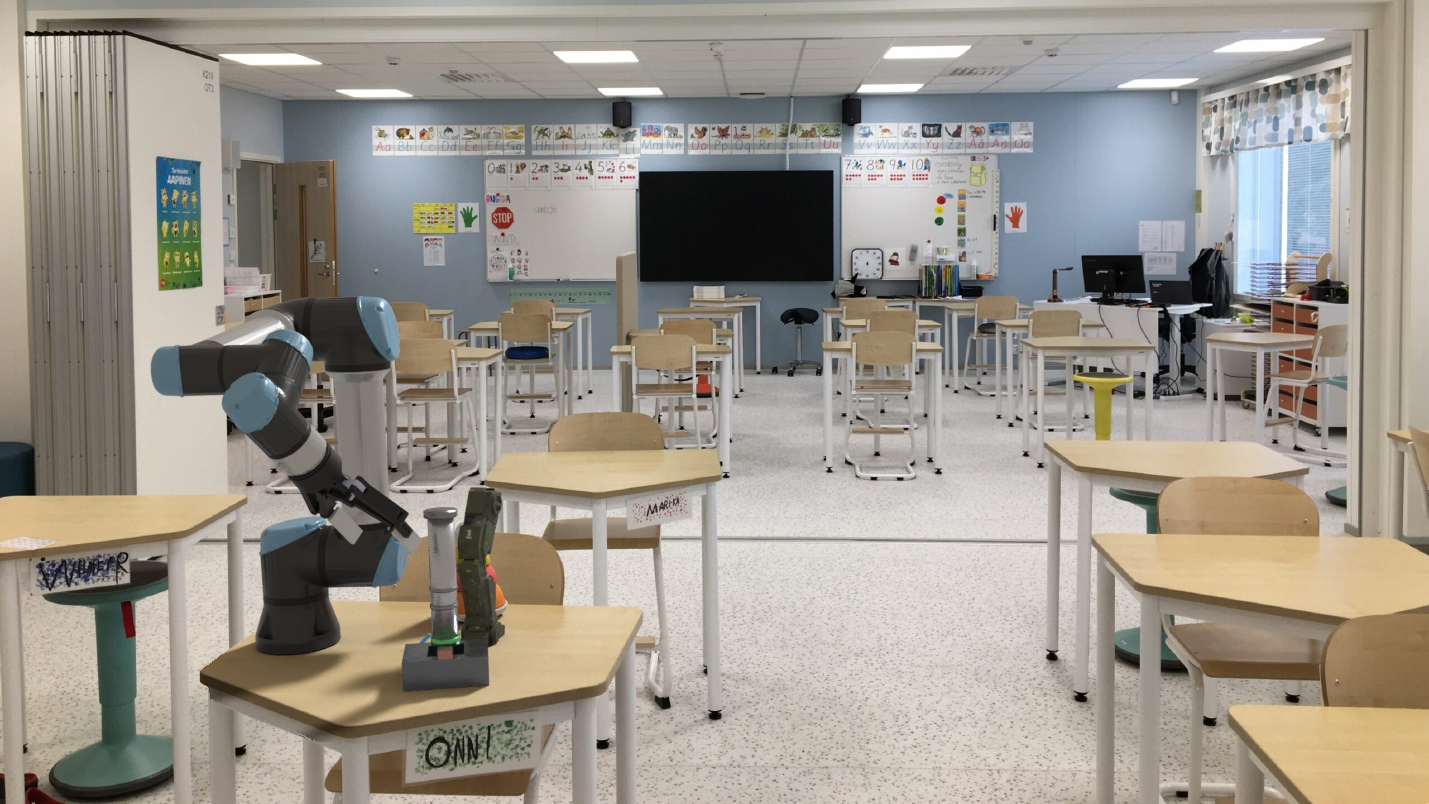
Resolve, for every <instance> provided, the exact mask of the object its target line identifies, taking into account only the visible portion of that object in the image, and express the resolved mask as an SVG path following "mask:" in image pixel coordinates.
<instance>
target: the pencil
mask: <svg viewBox="0 0 1429 804" xmlns="http://www.w3.org/2000/svg"><path fill="white" fill-rule="evenodd" d="M431 636H432V631H429V632H428V633H427V634H426V635H425V636H424V637H423V638H422V639H421V640H420V642H419V643H426V641H427V642H428V640H429V639H430V638H431Z"/></svg>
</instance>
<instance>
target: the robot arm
mask: <svg viewBox="0 0 1429 804" xmlns="http://www.w3.org/2000/svg"><path fill="white" fill-rule="evenodd" d="M399 331H400V330H399V326H398V321H397V317H396V314H395V312H394V309H393V308H392V306H391V304H390V303H389V302H388V301H387V300H386V299H385V298H382V297H375V296H363V295H360V296H334V297H333V296H332V297H330V296H329V297H328V296H327V297H300V298H293V299H289V300H285V301H282V302H279V303H274V304H272V305H270V306H267V307H265V308H261V309H259V310H257V311H256V310H255V312H253V313H251V314H250V315H249V316H247V317H246V318H245V320H244V321H243V323H240V324H239V325H237V326H233V327H232V328H229V329H226V330H224V331H222V332H220V333H217V334H215V335H213V336H211V337H208V338H206V339H203V340H201V341H199V342H196V343H192V344H190V345H189V344H188V345H179V344H175V345H170V346H169V345H168V346H167V345H166V346H165V345H164V346H160V347H158V348H156V350H155V351H154V353H153V354H152V357H151V360H150V377H151V382H152V385H153V388H154V389H155V391H156V392H157V393H159V395H162V396H166V397H180V398H184V397H199V396H201V397H204V396H222V397H221V407H222V410H223V411H224V413H225V414H226V415H227V417H229V418H230V420H231V421H232V422H233V423H234V426H235V427H236V429H238V430H239V431H241V432H242V433H244V434H245V436H246V437H248V438H249V440H251V441H252V442H253V443H254V445H256V446H257V447H258V448H259V449H260V450H261V451H262V452H263V453H264V454H265V456H267V457H268V458H269V459H270V461H272V462H273V464H275V469H276V470H277V471H279V472H280V471H281V472H283V474H285V475H286V476H287V478H288V479H289V480H290V481H291V482H292V483H293V485H294V486H295V487H296V488H297V489H298V491H299V493H300V495H301V496H302V499H303V501H304V503H305V505H306V507H307V510H308V511H309V513H310V514H311V515H312V516H303V517H298V518H293V519H292V518H291V519H287V520H283V521H281V522H277V523H274V524H271V525H269V526H268V527H266V528H264V529H263V531H262V532H261V534H260V541H259V542H260V547H259V548H260V549H259V550H260V551H259V556H260V568H261V569H260V571H261V583H262V584H261V585H262V587H261V588H262V599H263V601H262V602H263V604H262V605H263V606H262V610H261V613H260V618H259V621H258V625H257V627H256V631H255V636H254V637H255V648H256V650H257V651H259V652H261V653H265V654H271V655H296V654H303V653H310V652H315V651H319V650H322V649H326V648H329V647H331V646H333V645H335V644H336V643H338V642H340V640H341V638H342V637H341V635H342V634H341V633H342V632H341V624H340V622H339V619H338V617H337V614H336V612H335V609H334V608H333V605H332V602H331V600H330V593H329V592H330V590H329V589H330V588H333V589H334V588H337V589H338V588H369V587H371V588H374V589H376V588H378V587H391V586H394V585H395V586H396V585H397V584H398V583H399V582H400V581H401V580H402V578H403V575H404V574H405V570H406V567H407V564H408V559H409V554H412V555H414V553H415V552H416V551H417V549H418V548H419V546H420V545H421V542H422V541H423V539H422V538H421V537H420V535H418V533H417V532H416V531H415V530H414V529H413V528H412V527H411V526H410V525H409V524H408V522H407V521H406V519H407V518H408V516H409V515H410V513H409V511H407V510H405V508H403V507H402V506H400V505H399V504H397V503H396V502H395V501H393V500H392V499H390V491H389V490H390V489H389V487H390V486H389V472H388V471H389V469H388V451H387V448H388V447H387V434H386V433H387V432H386V429H387V428H386V413H385V411H386V410H385V409H386V408H385V393H384V389H385V388H384V378H385V377H386V376H387V374H388V373H389V372H390V371H391V369H392V363H391V362H394V361H396V360H397V359H398V358H399V356H400V354H401V353H400V352H401V347H400V346H401V339H400V337H401V336H400V332H399ZM312 362H324V372H325V374H326V375H328V377H330V378H331V379H332V380H333V383H334V399H335V414H336V415H335V416H336V430H337V431H336V433H337V446H338V447H337V449H338V451H336V450H335V449H334V448H333V447H332V446H331V445H330V444H329V443H328V442H327V441H326V439H325V438H324V437H323V436H322V434H320V433H319V432H318V430H317V429H316V428H315V427H314V426H313V425H312V424H311V422H309V421H308V420H307V419H306V418H305V417H304V416H303V414H302V413H301V412H300V410H299V409H298V406H299V405H300V402H301V397H302V394H303V391H304V389H305V386H306V383H307V379H308V377H309V375H310V374H311V370H312V369H311V367H312ZM338 502H340V503H341V506H336V505H337V504H338ZM317 515H319V516H317ZM326 519H327V520H326ZM327 522H328V523H330V524H329V525H327Z"/></svg>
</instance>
